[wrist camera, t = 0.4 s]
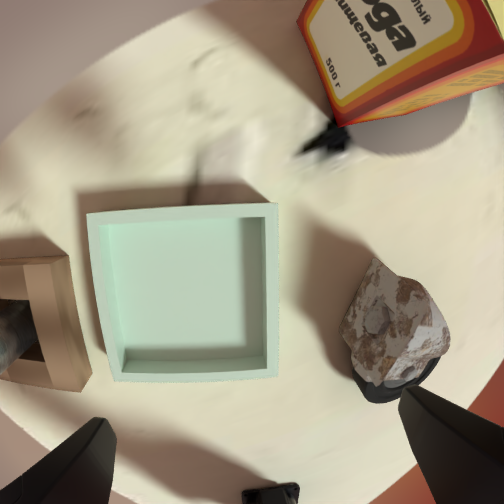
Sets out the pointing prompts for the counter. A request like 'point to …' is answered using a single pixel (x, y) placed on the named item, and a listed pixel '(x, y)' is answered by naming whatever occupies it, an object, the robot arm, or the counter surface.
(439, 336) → the caster wheel
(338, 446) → the counter surface
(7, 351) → the pin
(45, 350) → the block
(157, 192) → the counter surface
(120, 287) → the tray
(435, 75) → the baking soda box
